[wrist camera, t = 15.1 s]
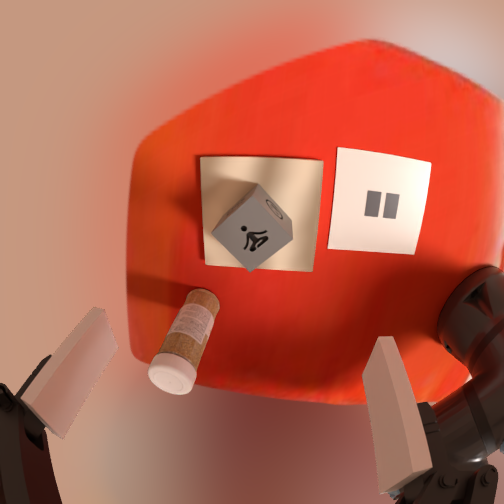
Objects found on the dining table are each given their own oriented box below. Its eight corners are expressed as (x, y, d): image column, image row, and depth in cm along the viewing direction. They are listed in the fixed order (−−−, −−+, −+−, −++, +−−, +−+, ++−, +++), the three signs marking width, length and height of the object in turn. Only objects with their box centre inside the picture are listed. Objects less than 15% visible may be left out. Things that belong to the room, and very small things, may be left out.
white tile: (430, 162, 23) (431, 163, 23) (413, 254, 28) (414, 254, 28) (337, 147, 24) (337, 147, 24) (327, 248, 29) (327, 248, 29)
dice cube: (255, 249, 29) (250, 272, 25) (222, 215, 28) (210, 233, 23) (291, 220, 27) (293, 239, 23) (258, 183, 26) (252, 195, 22)
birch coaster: (322, 160, 25) (323, 161, 24) (311, 267, 30) (312, 271, 30) (203, 156, 26) (200, 157, 25) (207, 260, 32) (205, 264, 31)
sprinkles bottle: (208, 320, 36) (178, 401, 24) (180, 301, 35) (139, 378, 23) (227, 301, 34) (200, 386, 22) (198, 280, 33) (156, 360, 21)
